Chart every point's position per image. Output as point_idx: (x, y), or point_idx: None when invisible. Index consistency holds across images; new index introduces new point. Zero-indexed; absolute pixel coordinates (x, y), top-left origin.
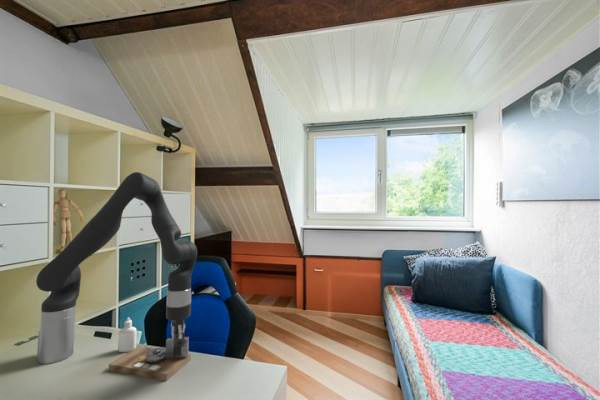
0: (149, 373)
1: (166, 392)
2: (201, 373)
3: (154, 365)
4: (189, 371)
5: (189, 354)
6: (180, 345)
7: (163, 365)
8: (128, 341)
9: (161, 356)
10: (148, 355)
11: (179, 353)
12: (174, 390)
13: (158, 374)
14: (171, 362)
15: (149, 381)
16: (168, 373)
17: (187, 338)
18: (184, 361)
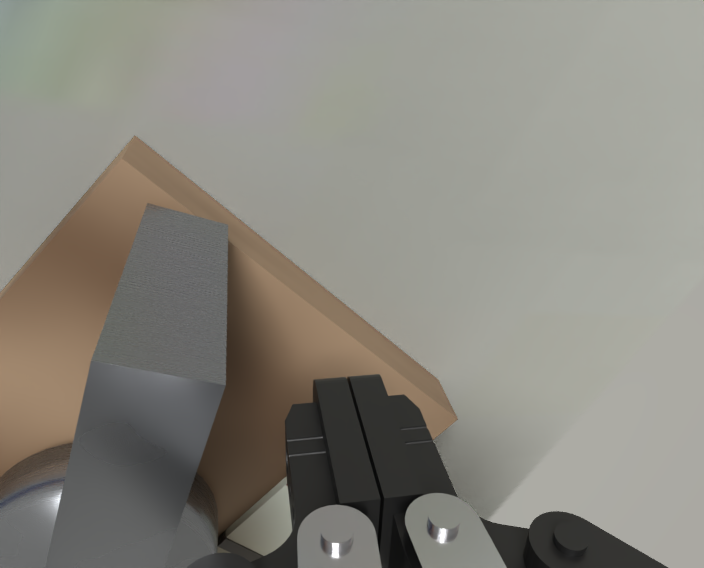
0: None
1: (592, 376)
2: (526, 63)
3: (248, 522)
4: (404, 183)
5: (129, 178)
6: (418, 491)
7: (272, 450)
8: None
9: (202, 529)
10: None
11: (417, 417)
12: (611, 326)
13: None
14: (246, 385)
15: None
16: (441, 403)
17: (178, 389)
18: (244, 241)
